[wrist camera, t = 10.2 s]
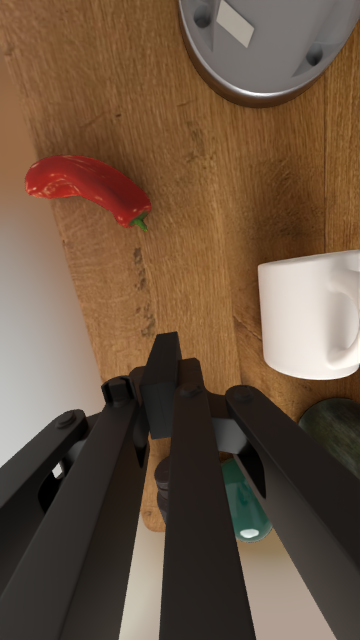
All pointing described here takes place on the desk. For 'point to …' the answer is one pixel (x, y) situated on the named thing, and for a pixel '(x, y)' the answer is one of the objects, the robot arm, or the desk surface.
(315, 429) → the mug
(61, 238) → the desk surface
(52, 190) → the vegetable
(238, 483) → the sphere
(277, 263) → the mug
